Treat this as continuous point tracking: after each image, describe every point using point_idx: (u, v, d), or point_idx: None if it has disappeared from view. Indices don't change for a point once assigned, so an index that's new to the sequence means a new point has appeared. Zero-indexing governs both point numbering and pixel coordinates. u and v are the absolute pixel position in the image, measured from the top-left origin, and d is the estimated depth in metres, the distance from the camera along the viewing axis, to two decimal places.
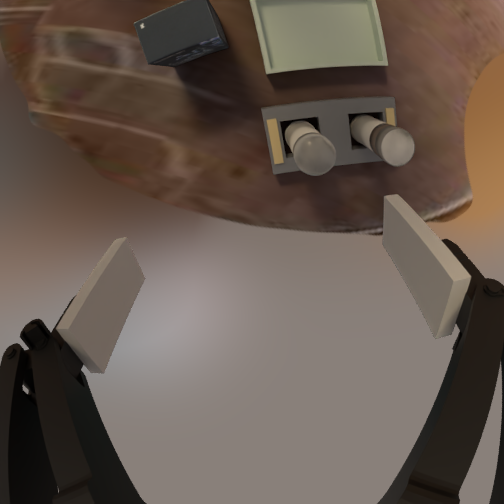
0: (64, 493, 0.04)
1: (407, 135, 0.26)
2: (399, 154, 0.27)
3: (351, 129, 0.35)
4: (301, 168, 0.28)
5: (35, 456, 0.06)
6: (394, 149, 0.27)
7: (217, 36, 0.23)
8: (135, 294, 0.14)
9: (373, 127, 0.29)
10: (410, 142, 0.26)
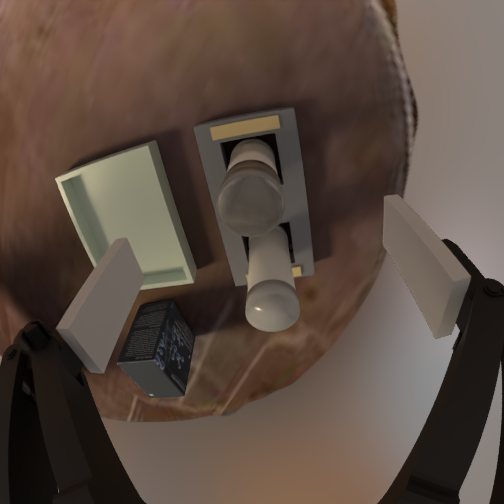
0: (63, 492, 0.04)
1: (225, 192, 0.17)
2: (263, 203, 0.18)
3: None
4: (289, 324, 0.23)
5: (35, 456, 0.06)
6: (254, 213, 0.18)
7: (154, 361, 0.29)
8: (135, 294, 0.14)
9: None
10: (236, 184, 0.17)
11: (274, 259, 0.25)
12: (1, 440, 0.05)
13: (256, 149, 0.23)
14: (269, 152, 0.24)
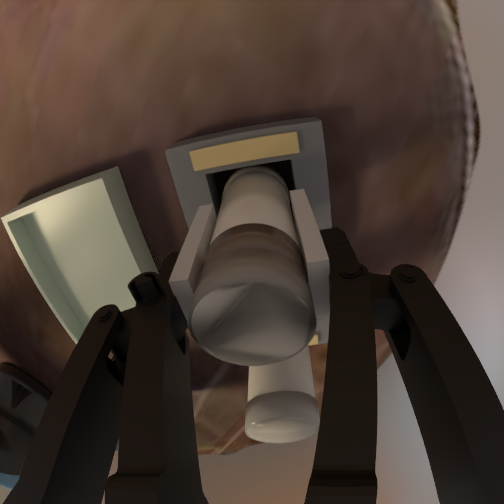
0: (123, 478, 0.04)
1: (204, 307, 0.09)
2: (275, 324, 0.09)
3: None
4: (304, 438, 0.15)
5: (96, 437, 0.07)
6: (259, 337, 0.10)
7: None
8: None
9: None
10: (224, 297, 0.09)
11: None
12: (61, 415, 0.06)
13: (262, 191, 0.14)
14: (282, 191, 0.16)
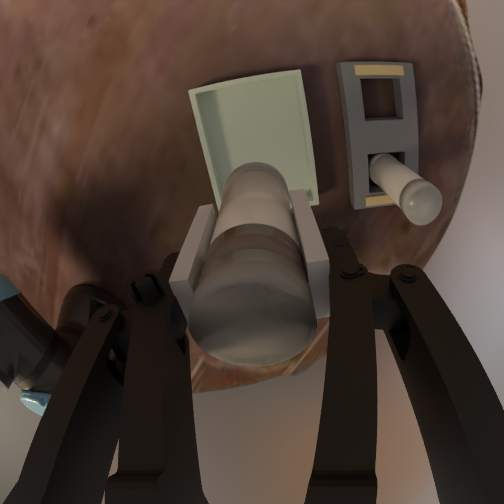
0: (123, 478, 0.04)
1: (204, 308, 0.09)
2: (275, 325, 0.09)
3: None
4: (432, 218, 0.25)
5: (96, 437, 0.07)
6: (259, 338, 0.10)
7: None
8: None
9: None
10: (224, 297, 0.09)
11: (410, 170, 0.27)
12: (61, 415, 0.06)
13: (262, 191, 0.14)
14: (282, 191, 0.16)
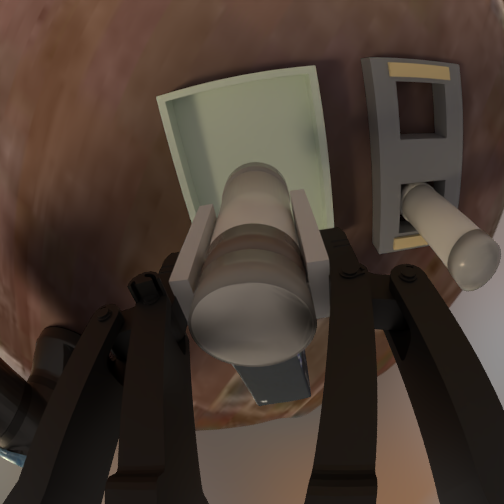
0: (123, 478, 0.04)
1: (204, 308, 0.09)
2: (275, 325, 0.09)
3: None
4: (485, 281, 0.16)
5: (96, 437, 0.07)
6: (259, 338, 0.10)
7: None
8: None
9: None
10: (224, 297, 0.09)
11: (459, 212, 0.18)
12: (61, 415, 0.06)
13: (262, 191, 0.14)
14: (282, 192, 0.16)
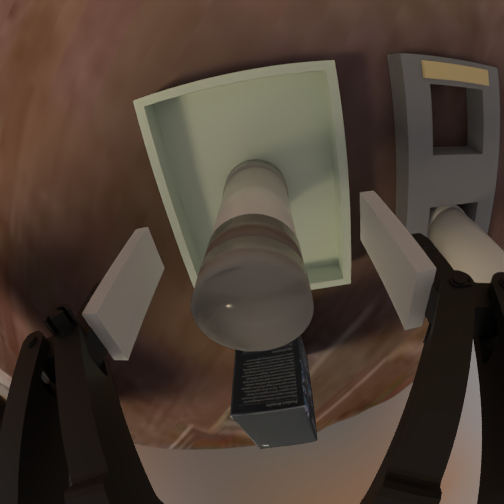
0: (77, 486, 0.04)
1: (206, 291, 0.10)
2: (274, 308, 0.10)
3: None
4: None
5: (49, 449, 0.06)
6: (259, 321, 0.10)
7: (304, 407, 0.18)
8: (156, 283, 0.15)
9: None
10: (226, 280, 0.09)
11: (498, 247, 0.14)
12: (14, 432, 0.05)
13: (261, 185, 0.15)
14: (281, 187, 0.16)
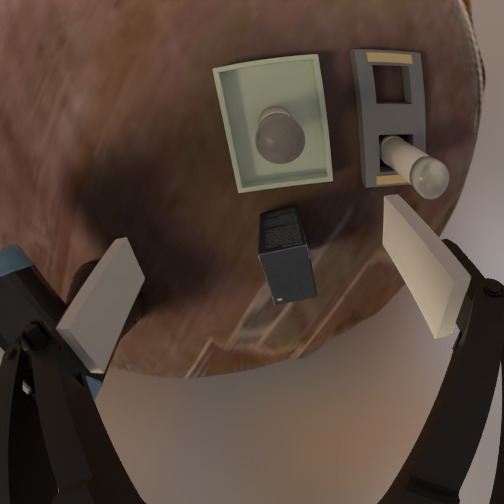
0: (63, 492, 0.04)
1: (262, 129, 0.23)
2: (289, 138, 0.23)
3: None
4: (440, 193, 0.26)
5: (35, 456, 0.06)
6: (283, 145, 0.24)
7: (306, 246, 0.32)
8: (135, 294, 0.14)
9: None
10: (271, 124, 0.23)
11: (419, 150, 0.28)
12: (1, 440, 0.05)
13: (281, 110, 0.28)
14: None
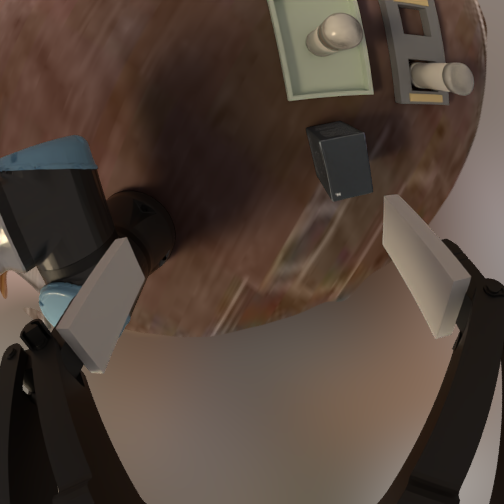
0: (63, 492, 0.04)
1: (329, 20, 0.21)
2: (350, 29, 0.22)
3: (324, 55, 0.32)
4: (469, 92, 0.24)
5: (35, 456, 0.06)
6: (346, 34, 0.22)
7: (363, 134, 0.30)
8: (135, 294, 0.14)
9: (323, 46, 0.26)
10: (335, 17, 0.21)
11: None
12: (1, 440, 0.05)
13: None
14: None
